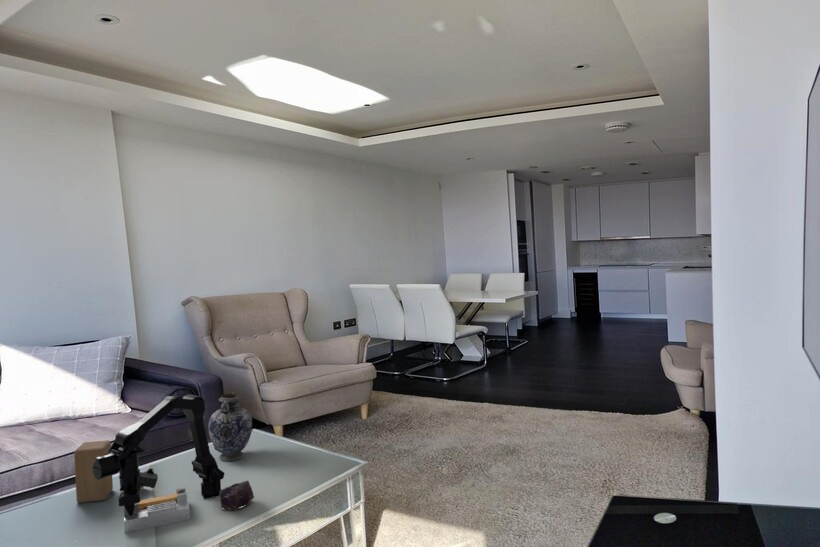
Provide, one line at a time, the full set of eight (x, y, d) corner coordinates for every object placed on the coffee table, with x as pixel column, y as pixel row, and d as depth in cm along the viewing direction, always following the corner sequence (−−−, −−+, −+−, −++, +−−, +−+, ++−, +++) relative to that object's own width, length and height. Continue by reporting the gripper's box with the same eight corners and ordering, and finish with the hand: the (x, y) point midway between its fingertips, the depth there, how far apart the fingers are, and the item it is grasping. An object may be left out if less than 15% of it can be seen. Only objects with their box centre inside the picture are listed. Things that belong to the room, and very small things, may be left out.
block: (85, 492, 215) (83, 441, 214) (113, 489, 217) (111, 439, 216) (75, 504, 205) (73, 450, 204) (105, 501, 207) (102, 448, 206)
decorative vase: (215, 449, 258) (214, 389, 257) (256, 447, 260) (255, 388, 259) (203, 467, 237) (202, 402, 236) (248, 465, 239) (246, 401, 238)
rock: (221, 508, 202) (225, 519, 193) (216, 486, 201) (220, 496, 192) (253, 496, 207) (258, 506, 198) (248, 474, 206) (254, 483, 198)
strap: (183, 495, 200) (183, 491, 200) (183, 499, 198) (183, 495, 198) (125, 507, 192) (124, 503, 192) (124, 510, 190) (124, 506, 190)
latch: (137, 506, 193) (137, 497, 193) (137, 513, 188) (137, 504, 187) (124, 509, 191) (124, 500, 191) (124, 516, 186) (123, 507, 186)
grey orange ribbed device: (187, 502, 204) (186, 485, 204) (189, 519, 192) (189, 500, 191) (125, 514, 196) (125, 496, 196) (124, 532, 183) (123, 513, 183)
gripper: (156, 474, 180) (158, 521, 180) (155, 455, 197) (157, 498, 197) (117, 481, 175) (119, 529, 176) (119, 461, 192) (121, 505, 192)
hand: (131, 514), depth 185 cm, fingers closed
